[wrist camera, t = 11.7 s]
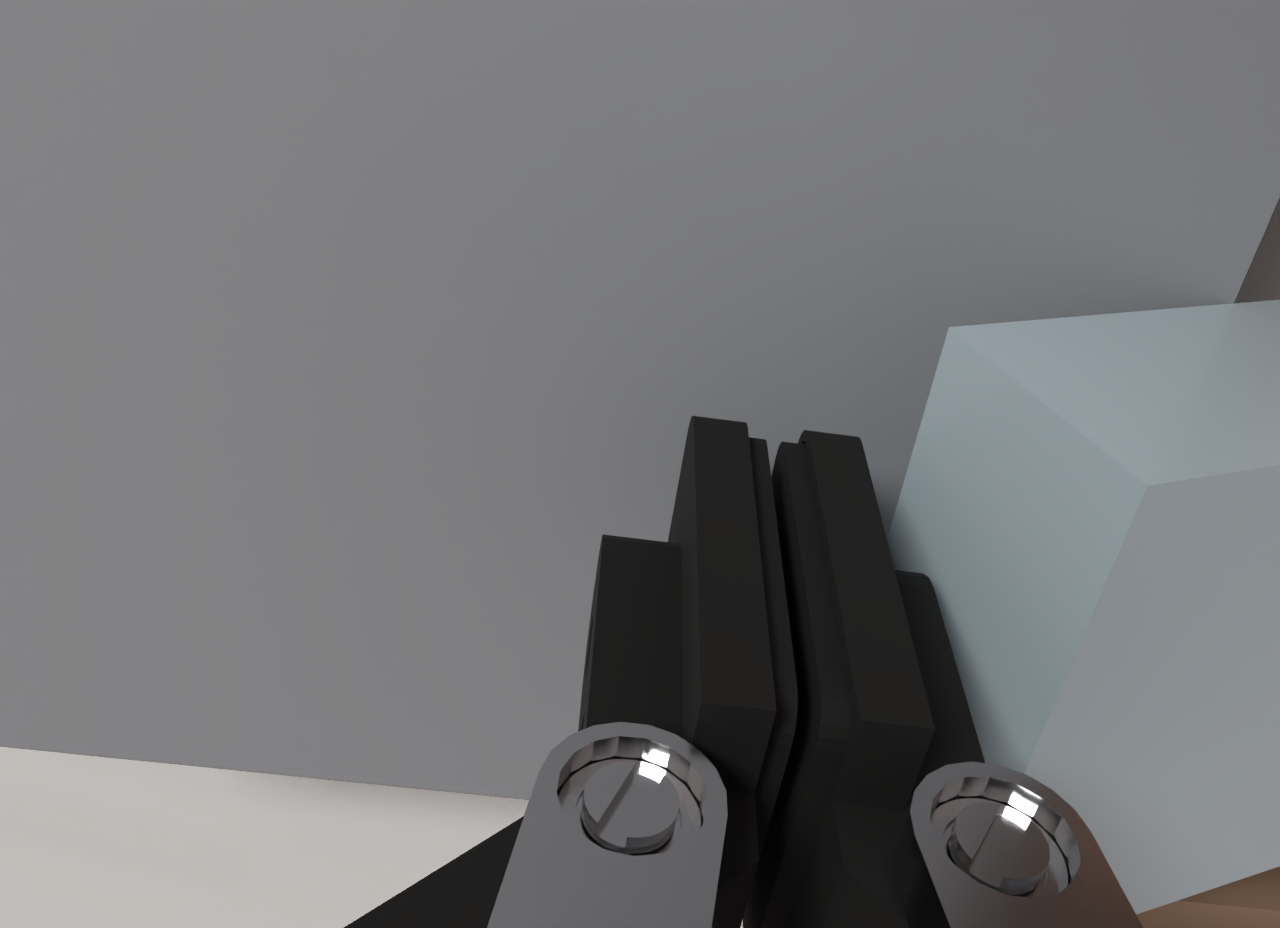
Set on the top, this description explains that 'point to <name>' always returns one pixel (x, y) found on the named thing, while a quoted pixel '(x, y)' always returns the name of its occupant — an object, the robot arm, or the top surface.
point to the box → (1224, 906)
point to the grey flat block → (517, 318)
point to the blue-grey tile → (1116, 573)
